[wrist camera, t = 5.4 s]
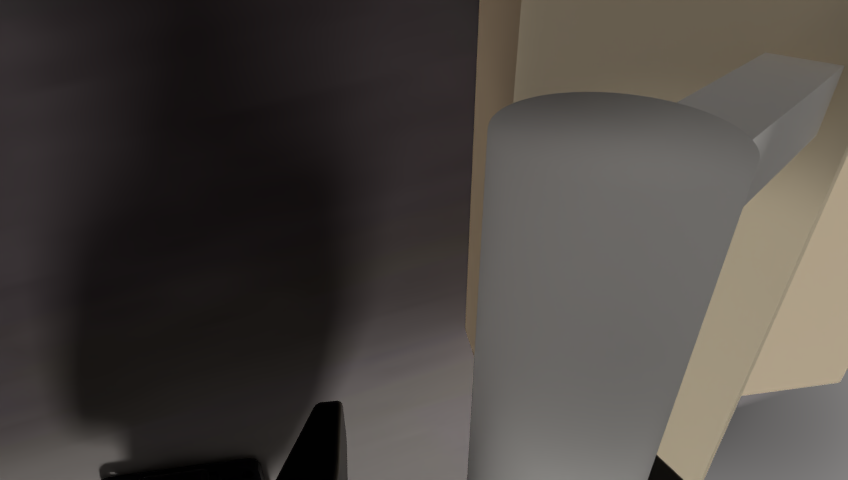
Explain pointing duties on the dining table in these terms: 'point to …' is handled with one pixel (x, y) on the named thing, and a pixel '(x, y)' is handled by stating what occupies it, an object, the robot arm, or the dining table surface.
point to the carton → (809, 290)
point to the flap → (646, 225)
